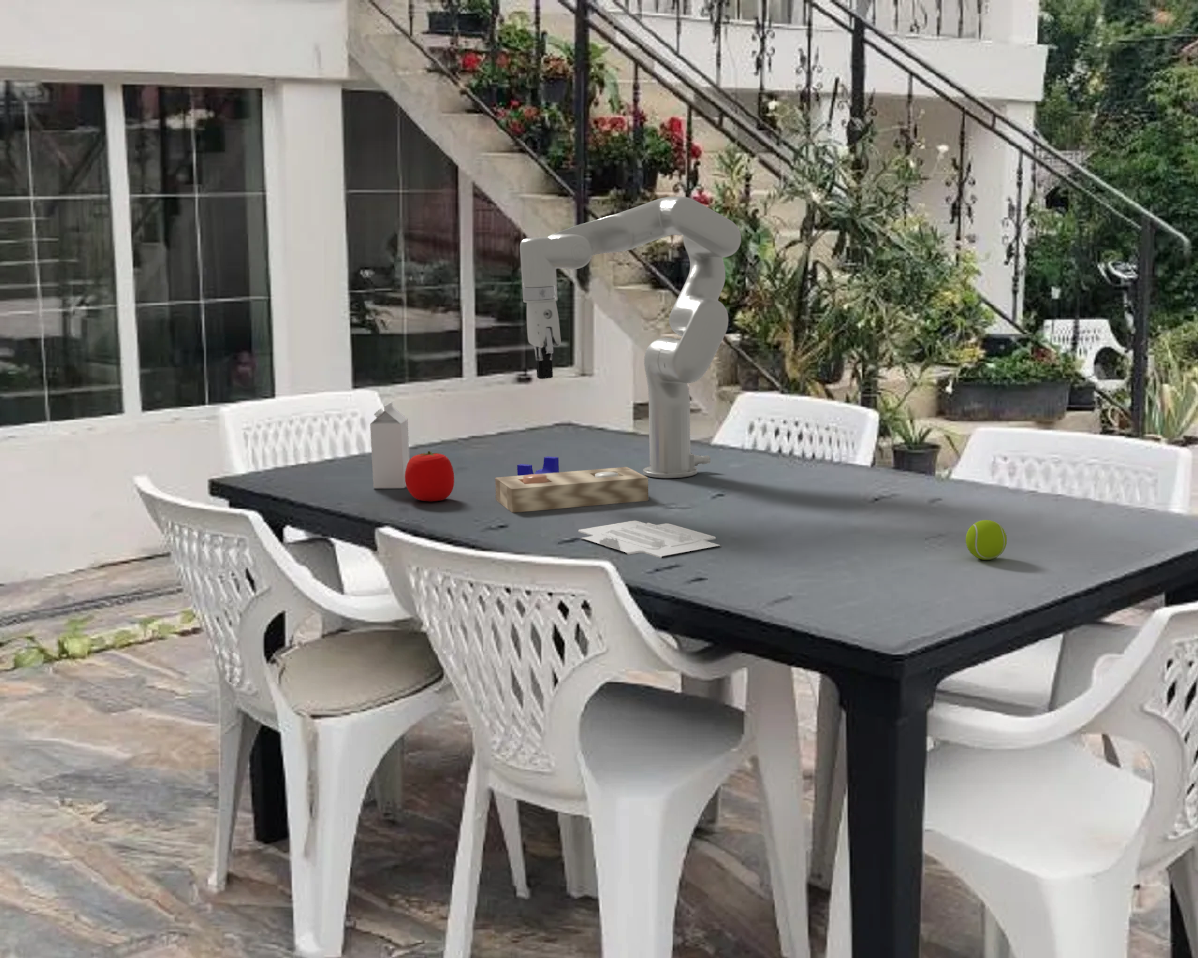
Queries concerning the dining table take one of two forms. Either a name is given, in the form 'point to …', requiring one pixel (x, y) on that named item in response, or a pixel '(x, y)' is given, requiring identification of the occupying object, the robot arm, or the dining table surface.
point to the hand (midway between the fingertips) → (545, 377)
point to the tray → (648, 538)
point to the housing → (572, 490)
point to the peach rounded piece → (534, 478)
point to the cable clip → (548, 467)
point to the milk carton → (389, 448)
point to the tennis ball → (986, 539)
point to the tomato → (429, 477)
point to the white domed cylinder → (606, 474)
